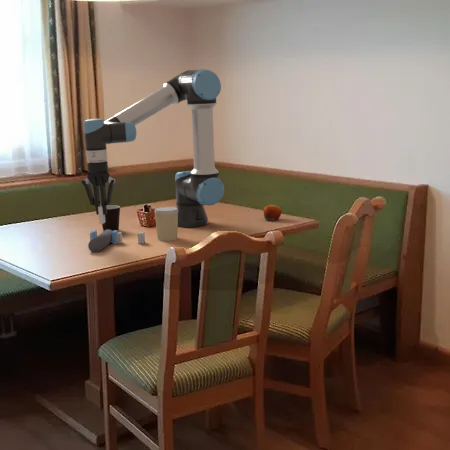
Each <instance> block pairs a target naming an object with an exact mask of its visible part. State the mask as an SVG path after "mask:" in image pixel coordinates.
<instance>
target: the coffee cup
mask: <svg viewBox="0 0 450 450" xmlns="http://www.w3.org/2000/svg"><path fill="white" fill-rule="evenodd" d="M154 220H155V228H156V235H157V237H156V238H157V240H158V241H161V242H170V241H171V242H172V241H177V239H178V233H179V232H178V230H179V229H178V227H179V226H178V209H177V208H176V206H160V207H156V208H155V209H154Z"/></svg>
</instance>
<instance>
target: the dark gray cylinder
mask: <svg viewBox="0 0 450 450" xmlns="http://www.w3.org/2000/svg"><path fill="white" fill-rule="evenodd" d="M112 232H113V231H112V230H110V229H107V230H105V231H102V232H100V234H97V237H95V238H94V239H92V240H91V241H90V240H89V242H88V244H87V245H88V246H87V247H88V250H89V251H90V252H91V253H99V252H100V251H102V250H103V249H105V247H107V246H108V245H109V244H111V243H112Z"/></svg>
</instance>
